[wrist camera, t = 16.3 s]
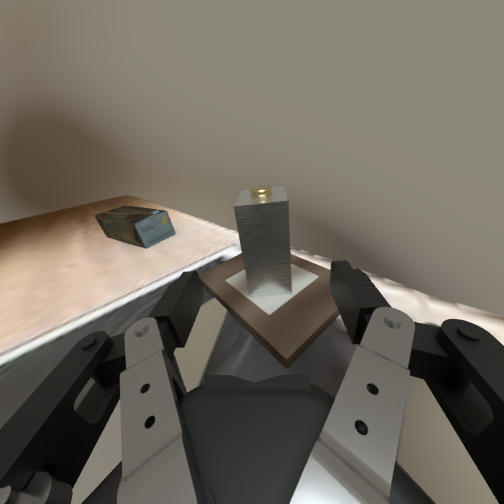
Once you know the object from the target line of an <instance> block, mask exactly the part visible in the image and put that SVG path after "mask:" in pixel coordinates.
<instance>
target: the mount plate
mask: <svg viewBox="0 0 504 504" xmlns="http://www.w3.org/2000/svg"><path fill="white" fill-rule="evenodd" d="M330 271H331V270H329V269H326V268H324V267H322V266H319V265H317V264H314V263H312V262H309V261H307V260H304V259H302V258H300V257H297V256H295V255H292V254H291V280H292V295H278V296H258V297H250V294H249V289H248V283H247V278H246V272H245V267H244V261H243V256H242V253H241V254H239V255H237V256H235V257H233V258H231V259H229V260H227V261H225V262H223V263H221V264H219V265H217V266H215V267H213V268H211V269H209V270H207V271H205V272H203V273H201V274H199V275H198V276H199V279H200V282H201V284H202V285H203V286H204V287H205V288H206V289H207V290H208V291H209V292H210V293H211V294H212V295H213V296H214V297H215V298H216V299H217V300H218V301H219V302H220V303H221V304H222V305H223V306H224V307H225V308H226V309H227V310H228V311H229V312H230V313H231V314H232V315H233V316H234V317H235V318H236V319H237V320H238V321H239V322H240V323H241V324H242V325H243V326H244V327H245V328H246V329H247V330H248V331H250V332H251V333H252V334H253V335H254V336H255V337H256V338H257V339H258V340H259V341H260V342H261V343H262V344H263V345H264V346H265V347H266V348H267V349H268V350H269V351H270V352H271V353H272V354H273V355H274V356H275V357H276V358H277V359H278V360H279V361H280V362H281V363H282V364H283V365H284V366H285V367H286V368H288V367H289V366H290V365H291V364H292V363H293V362H294V361H295V360H296V359H297V358H298V357H299V356H300V355H301V354H302V353H303V352H304V351H305V350H306V349H307V348H308V347H309V346H310V345H311V344H312V343H313V342H314V340H315V339H316V338H317V337H318V336H319V335H320V334H321V333H322V332H323V331H324V330H325V329H326V328H327V327H328V326H329V325H330V324H331V323H332V322H333V321H334V320H335V319H336V318H337V317H338V316H339V315H340V313H339V311H338V308H337V306H336V304H335V301H334V299H333V297H332V294H331V291H330Z"/></svg>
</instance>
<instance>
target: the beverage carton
mask: <svg viewBox="0 0 504 504" xmlns="http://www.w3.org/2000/svg"><path fill="white" fill-rule="evenodd" d="M95 217H96V219H97V221H98V223H99V225H100V226H101V228H102V230H103V231H104V233H105V234H106V236H107V237H110V238H113V239H117V240H120V241H123V242H126V243H129V244H132V245H136V246H140V247H143V248H149V247H151V246H153V245H155V244H157V243H159V242H161V241H163V240H165V239H167V238H169V237H171V236H173V235H175V231H174V228H173V225H172V223H171V221H170V218H169V215H168V212H167V211H164V210H156V209H149V208H142V207H133V206H121V207H119V208H116V209H112V210H109V211H106V212H103V213H100V214H97V215H95Z"/></svg>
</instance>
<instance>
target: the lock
mask: <svg viewBox="0 0 504 504" xmlns="http://www.w3.org/2000/svg"><path fill="white" fill-rule="evenodd" d="M234 210H235V216H236V222H237V228H238V233H239V239H240V244H241V250H242V256H243V261H244V267H245V272H246V278H247V283H248V289H249V294H250V297H258V296H278V295H292V280H291V254H290V230H289V229H290V228H289V202H288V198H287V195H286V193H285V190H284V187H283V186H277V187H271V186H259V187H255V188H252V189H251V190H244V191H241V193H240V195H239V197H238V199H237V202H236V203H235V205H234Z"/></svg>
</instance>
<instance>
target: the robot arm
mask: <svg viewBox="0 0 504 504" xmlns="http://www.w3.org/2000/svg"><path fill="white" fill-rule="evenodd" d="M330 291H331V294H332V297H333V299H334V301H335V304H336V306H337V308H338V311H339V313H340V315H341V318H342V320H343V322H344V325H345V327H346V329H347V332H348V334H349V336H350V338H351V341H352V343H353V344H360V345H358V346H357V348H356V350H355V353H354V355H353V358H352V360H351V362H350V365H349V367H348V370H347V372H346V374H345V377H344V379H343V382H342V384H341V386H340V389H339V391H338V393H337V396H336V397H335V396H333V395H332V394H330V393H329V392H328V391H326V390H324V389H322V388H320V387H318V386H315V385H313V384H309V379H308V375H280V376H277V377H273V378H270V379H266V380H263V381H260V382H251V381H248V380H244V379H241V378H237V377H234V376H231V375H206V379H205V383H204V385H201V386H198V387H196V388H194V389H193V390H191V391H189V392H188V393H187V391H186V388H185V386H184V383H183V380H182V377H181V374H180V370H179V367H178V364H177V361H176V358H175V355H174V351H175V348H182V347H184V346H185V344H186V342H187V339H188V337H189V334H190V332H191V329H192V327H193V324H194V322H195V319H196V316H197V314H198V312H199V309H200V307H201V304H202V302H203V298H204V291H203V288H202V285H201V282H200V279H199V276H198V273H197V272H196V271H189V272H183V273H182V274H181V276H180V277H179V279H178V280H176V281H174V282H173V283H172V284H171V285H169V286H168V288H167V289H166V291H165V292H164V294H163V295H162V297H161V299H160V300H159V301H158V303H157V304H156V306H155V307H154V308H153V310H152V311H151V313H150V314H149V316H148V317H147V318H143V319H141V320H139V321H137V322H135V323H134V324H132V325H131V326H130V327H129V328H128V330H127V331H126V333H123V334H120V335H117V336H113V337H109V336H108V334H107V333H106V332H104V331H98V332H94V333H92V334H89V335H88V336H86V337H84V338H83V339H81V340H80V341H79V342H78V343H77V344H76V345H75V346H74V347H73V348H72V349H71V350H70V352H69V353H68V354H67V355H66V356H65V357H64V358H63V359H62V361H61V362H60V363H59V364H58V365H57V366H56V367H55V369H54V370H53V371H52V372H51V373H50V374H49V375H48V376H47V378H46V379H45V380H44V381H43V382H42V383H41V384H40V385H39V387H38V388H37V389H36V390H35V391H34V392H33V393H32V395H31V396H30V397H29V398H28V399H27V400H26V401H25V402H24V404H23V405H22V406H21V407H20V408H19V409H18V410H17V411H16V413H15V414H14V415H13V416H12V417H11V418H10V419H9V420H8V422H7V423H6V424H5V425H4V426H3V427H2V428H1V430H0V504H71V499H72V489H73V487H74V485H75V483H76V481H77V479H78V477H79V476H80V474H81V472H82V470H83V468H84V466H85V464H86V462H87V460H88V458H89V456H90V455H91V453H92V451H93V449H94V447H95V445H96V443H97V441H98V439H99V437H100V435H101V433H102V431H103V430H104V428H105V426H106V424H107V422H108V420H109V418H110V416H111V414H112V412H113V411H114V409H115V407H116V405H117V403H118V401H119V399H121V401H120V403H121V439H122V461H121V462H120V463H119V464H118V465H117V466H116V467H115V468H114V469H113V470H112V472H111V473H110V474H109V475H108V476H107V477H106V478H105V479H104V480H103V481H102V482H101V483H100V484H99V486H98V487H97V488H96V489H95V490H94V491H93V492H92V493H91V494H90V495H89V496H88V497H87V498H86V499H85V500H84V501H83V503H82V504H435V502H434V501H433V500H432V499H431V498H430V497H429V496H428V495H427V494H426V493H425V492H424V491H423V490H422V488H421V487H420V486H419V485H418V484H417V483H416V482H415V481H414V480H413V479H412V478H411V477H410V476H409V474H408V473H407V472H406V471H405V470H404V469H403V468H402V467H401V466H400V465H399V464H398V463H397V462H396V460H395V459H396V453H397V447H398V441H399V435H400V429H401V423H402V418H403V412H404V406H405V400H406V394H407V388H408V382H409V376H414V377H417V378H421V379H424V380H425V382H426V383H427V385H428V387H429V388H430V390H431V392H432V393H433V395H434V397H435V398H436V400H437V402H438V403H439V405H440V407H441V408H442V410H443V411H444V413H445V415H446V417H447V418H448V420H449V421H450V423H451V425H452V427H453V428H454V430H455V431H456V433H457V435H458V436H459V438H460V440H461V441H462V443H463V444H464V446H465V448H466V450H467V451H468V453H469V455H470V456H471V458H472V460H473V461H474V463H475V464H476V466H477V468H478V470H479V471H480V473H481V474H482V476H483V478H484V479H485V481H486V483H487V484H488V486H489V488H490V489H491V491H492V493H493V494H494V496H495V498H496V499H497V501H498V503H499V504H504V346H503V345H502V344H501V343H500V342H499V341H498V340H497V339H496V338H495V337H494V336H492V335H491V334H490V333H489V332H488V331H486V330H485V329H483V328H481V327H479V326H477V325H475V324H473V323H470V322H467V321H464V320H459V319H448V320H445V321H444V322H443V323H442V325H441V327H437V326H432V325H427V324H422V323H417V322H413V320H412V319H411V318H410V317H409V316H408V315H407V314H405V313H404V312H402V311H400V310H397V309H395V308H392V307H391V306H390V305H389V303H388V302H387V301H386V299H385V298H384V297H383V296H382V294H381V293H380V292H379V290H378V289H377V288H376V287H375V285H374V284H373V282H371V280H370V278H369V277H368V276H367V274H365V273H364V272H362V271H361V270H359V269H358V268H357V269H352V267H351V266H350V264H349V263H348V261H346V260H344V261H332V263H331V271H330ZM91 377H92V378H93V379H94V380H95V383H94V384H93V386H92V387H91V389H90V390H89V392H88V393H87V395H86V396H85V398H84V399H83V401H82V402H81V404H80V405H79V407H78V408H77V410H76V411H75V410H74V403H75V400H76V398H77V396H78V395H79V393H80V392H81V391H82V389H83V388H84V386H85V385H86V383H87V382H88V380H89V379H90V378H91Z"/></svg>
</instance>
